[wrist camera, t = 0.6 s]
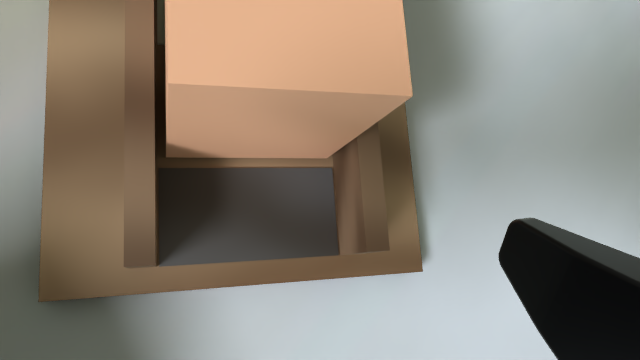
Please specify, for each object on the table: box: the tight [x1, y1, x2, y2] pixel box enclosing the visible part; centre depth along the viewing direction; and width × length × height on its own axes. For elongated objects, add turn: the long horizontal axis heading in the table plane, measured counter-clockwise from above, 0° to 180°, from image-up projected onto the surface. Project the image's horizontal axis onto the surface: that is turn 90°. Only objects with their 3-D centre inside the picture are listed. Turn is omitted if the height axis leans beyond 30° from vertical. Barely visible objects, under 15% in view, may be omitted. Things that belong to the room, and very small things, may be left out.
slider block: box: [164, 0, 413, 158], centre depth 18 cm, size 8×7×8 cm
